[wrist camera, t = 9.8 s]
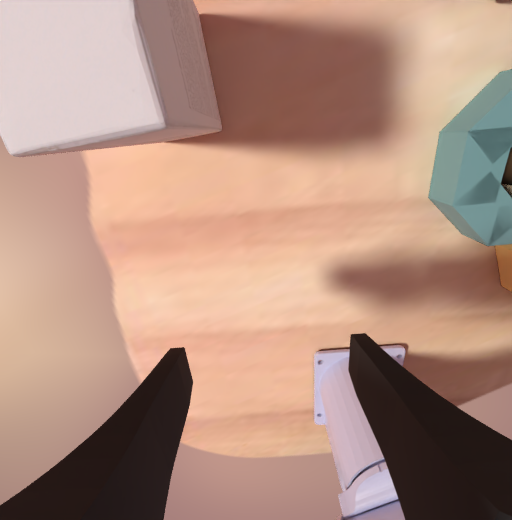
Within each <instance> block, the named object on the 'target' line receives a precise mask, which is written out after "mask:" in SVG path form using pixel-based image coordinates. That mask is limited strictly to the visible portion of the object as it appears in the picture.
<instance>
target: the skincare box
mask: <svg viewBox="0 0 512 520" xmlns="http://www.w3.org/2000/svg"><path fill="white" fill-rule="evenodd" d="M221 130H222V124H221V119H220V114H219V110H218V105H217V100H216V95H215V90H214V85H213V81H212V76H211V71H210V66H209V61H208V56H207V52H206V47H205V42H204V37H203V33H202V28H201V23H200V18H199V13H198V11H197V8H196V6H195V4H194V2H193V0H0V136H1V138H2V140H3V142H4V144H5V146H6V148H7V150H8V151H9V153H10V154H11V155H13V156H16V157H26V156H36V155H47V154H55V153H66V152H75V151H84V150H93V149H103V148H113V147H121V146H132V145H142V144H152V143H162V142H167V141H173V140H179V139H184V138H189V137H195V136H200V135H205V134H210V133H215V132H220V131H221Z"/></svg>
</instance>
